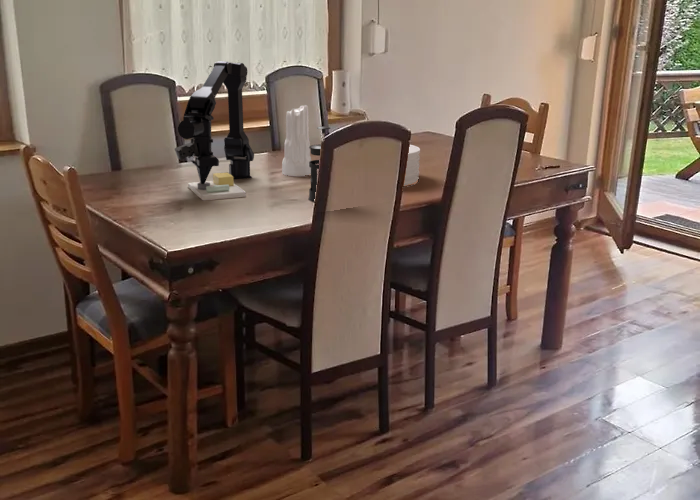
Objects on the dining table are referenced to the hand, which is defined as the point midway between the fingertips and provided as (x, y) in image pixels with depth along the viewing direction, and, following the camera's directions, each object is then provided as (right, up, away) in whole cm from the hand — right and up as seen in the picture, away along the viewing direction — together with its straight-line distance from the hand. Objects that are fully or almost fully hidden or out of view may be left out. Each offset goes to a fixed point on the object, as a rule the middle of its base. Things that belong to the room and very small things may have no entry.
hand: (202, 183), depth 252 cm
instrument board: (+4, -2, +3) cm, 5 cm away
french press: (+39, -6, -5) cm, 40 cm away
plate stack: (+58, +3, +26) cm, 64 cm away
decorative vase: (+28, +6, +33) cm, 44 cm away
